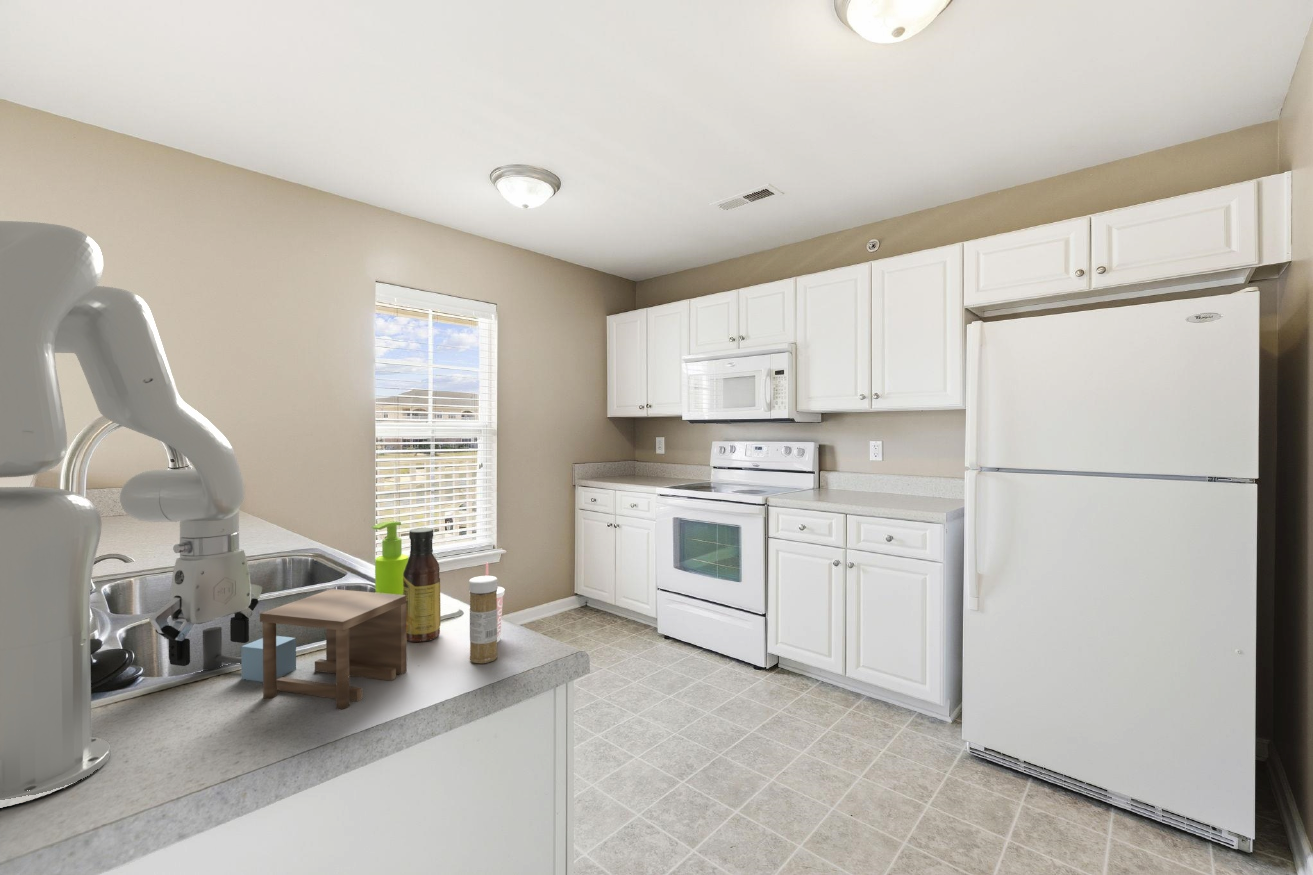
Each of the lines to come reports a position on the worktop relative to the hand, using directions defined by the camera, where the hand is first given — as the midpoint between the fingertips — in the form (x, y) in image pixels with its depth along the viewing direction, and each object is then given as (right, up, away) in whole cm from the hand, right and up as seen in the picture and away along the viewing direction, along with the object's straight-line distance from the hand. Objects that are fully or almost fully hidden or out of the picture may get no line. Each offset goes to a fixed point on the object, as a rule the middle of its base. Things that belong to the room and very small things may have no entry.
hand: (211, 652), depth 94 cm
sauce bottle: (+28, -2, +13) cm, 31 cm away
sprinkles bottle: (+42, -3, +4) cm, 42 cm away
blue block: (+6, -2, -1) cm, 7 cm away
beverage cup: (+40, -3, +12) cm, 42 cm away
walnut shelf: (+23, -3, -6) cm, 24 cm away
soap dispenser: (+20, -2, +20) cm, 28 cm away
